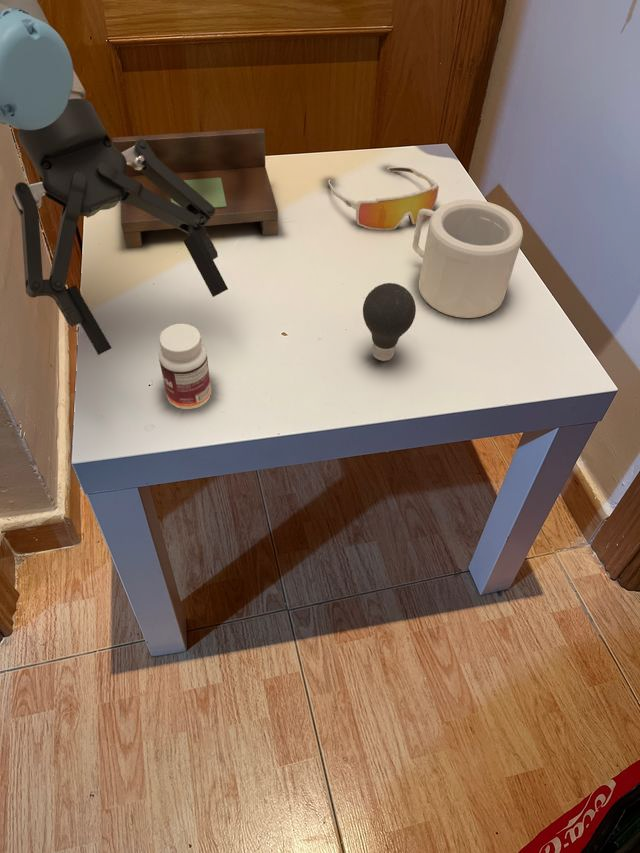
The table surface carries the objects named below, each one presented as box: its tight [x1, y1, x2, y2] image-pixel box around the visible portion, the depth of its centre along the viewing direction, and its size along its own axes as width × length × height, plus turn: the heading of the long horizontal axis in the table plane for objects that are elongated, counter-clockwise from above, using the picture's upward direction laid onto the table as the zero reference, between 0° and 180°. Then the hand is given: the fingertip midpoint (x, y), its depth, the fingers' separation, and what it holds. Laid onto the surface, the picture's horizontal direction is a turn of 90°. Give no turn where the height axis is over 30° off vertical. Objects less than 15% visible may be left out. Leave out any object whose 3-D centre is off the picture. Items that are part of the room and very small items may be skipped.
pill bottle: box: [158, 323, 212, 410], centre depth 71 cm, size 5×5×8 cm
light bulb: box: [362, 282, 417, 362], centre depth 75 cm, size 6×6×10 cm
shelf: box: [112, 127, 279, 249], centre depth 91 cm, size 20×12×9 cm, turn 101°
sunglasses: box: [327, 166, 440, 231], centre depth 98 cm, size 14×15×5 cm
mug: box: [412, 199, 524, 319], centre depth 83 cm, size 14×11×10 cm
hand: (165, 321), depth 69 cm, fingers open, 13 cm apart
